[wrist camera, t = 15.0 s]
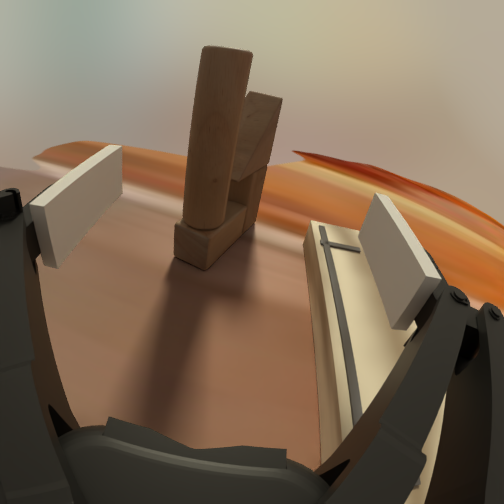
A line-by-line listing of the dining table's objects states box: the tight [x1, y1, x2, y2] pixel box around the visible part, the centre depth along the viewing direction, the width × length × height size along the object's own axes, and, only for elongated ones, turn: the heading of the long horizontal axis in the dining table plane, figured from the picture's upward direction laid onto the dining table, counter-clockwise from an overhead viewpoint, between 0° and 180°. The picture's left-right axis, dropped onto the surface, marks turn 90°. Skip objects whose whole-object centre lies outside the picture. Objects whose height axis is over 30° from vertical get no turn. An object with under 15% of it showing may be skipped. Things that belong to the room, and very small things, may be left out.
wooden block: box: [174, 46, 282, 270], centre depth 25 cm, size 4×11×18 cm, turn 155°
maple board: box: [303, 220, 446, 504], centre depth 19 cm, size 10×30×3 cm, turn 176°
